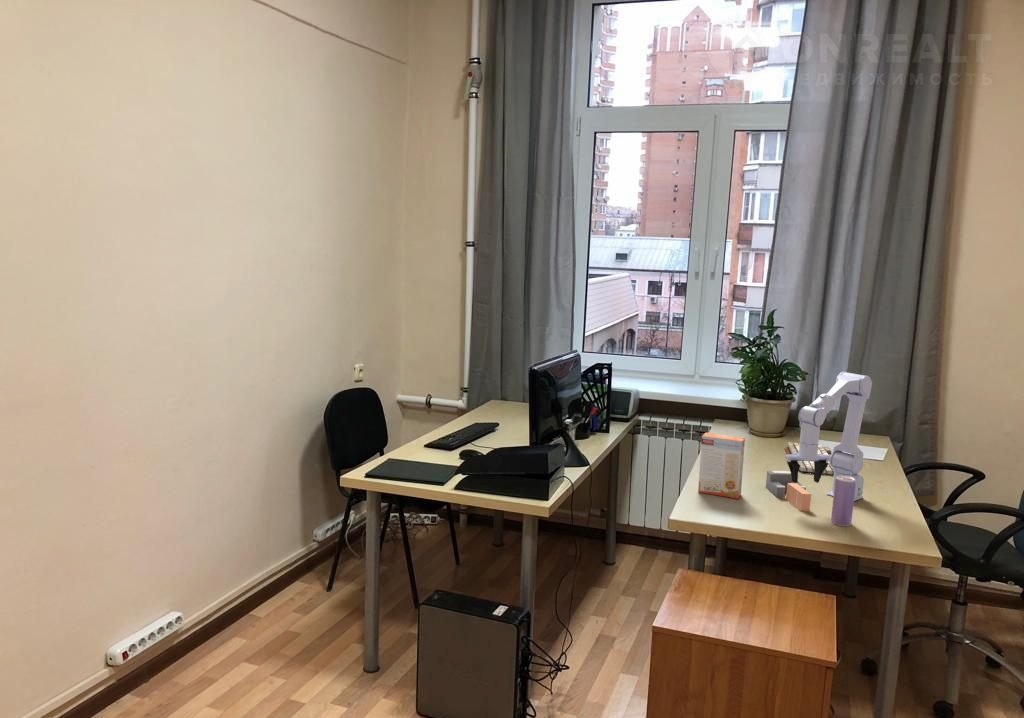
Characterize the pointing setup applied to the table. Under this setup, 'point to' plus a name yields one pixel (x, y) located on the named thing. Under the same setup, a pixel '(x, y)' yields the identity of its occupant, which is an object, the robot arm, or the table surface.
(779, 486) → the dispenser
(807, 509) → the salmon long block
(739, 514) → the table surface
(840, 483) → the beverage can
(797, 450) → the mechanical keyboard
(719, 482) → the cracker box
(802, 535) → the table surface
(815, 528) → the table surface
